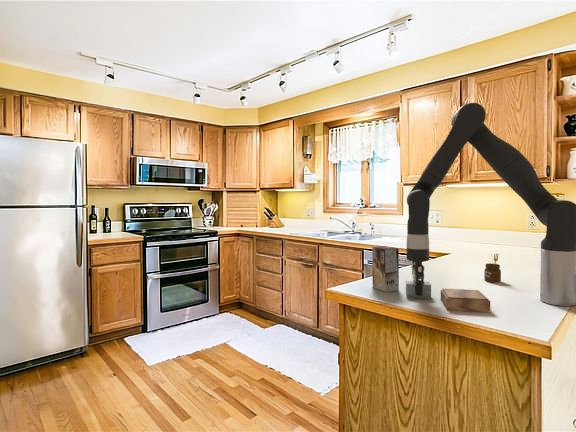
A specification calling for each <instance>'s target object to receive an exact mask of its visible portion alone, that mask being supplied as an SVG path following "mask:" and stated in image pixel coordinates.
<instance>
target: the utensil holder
mask: <svg viewBox="0 0 576 432" xmlns="http://www.w3.org/2000/svg"><path fill="white" fill-rule="evenodd" d="M490 255H491V256H493V258H492V259H491V261H492V263H491V261H490V259H488V263H485V265H484V266H485V268H484V278H483V279H484V281H485V282H487V283H494V284H499V283H500V282H501V281H502V271H501V269H500V268H501V265H500V264H498V263H497V261H498V260H499V254H498V253H493V254H492V253H489V254H488V256H487V257H490Z"/></svg>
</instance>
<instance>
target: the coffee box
mask: <svg viewBox="0 0 576 432" xmlns="http://www.w3.org/2000/svg"><path fill="white" fill-rule="evenodd" d="M399 250H400V249H399V248H397V247H392V246H387V245H383V246H381V245H379V246H372V247H371V254H372V255H371V258H372V260H371V262H372V263H371V266H372V267H371V268H372V288H374V289H377V290H380V291H383V292H385V293H388V292H396V291H397V292H399V290H400V283H399V282H400V275H399V272H400V271H399V270H400V267H399V266H400V265H399V261H400V257H399V256H400V255H399Z"/></svg>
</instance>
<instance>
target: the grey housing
mask: <svg viewBox="0 0 576 432" xmlns="http://www.w3.org/2000/svg"><path fill="white" fill-rule="evenodd" d="M419 281H421V279H420V280H419ZM405 297H406V299H425V300H432V284H431V281H424V284H423V295H422V296H417V295H416V285H415V280H414V281H413V280H405Z"/></svg>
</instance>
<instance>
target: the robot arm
mask: <svg viewBox="0 0 576 432" xmlns="http://www.w3.org/2000/svg"><path fill="white" fill-rule="evenodd" d="M486 118H487V113H486V110H485V108H484V106H483V105H481V104H480V103H477V102H469V103H466V104H463V105H462V106H460V107H459V108H458V109H457V111H456V112H454V114H453V115H452V116H451V129H450V130H449V132H448V134H447V136H446V138H445V140H444V141H443V142H442V143H441V145H440V147H439V148H438V149H437V150H436V152H435V153H434V154H433V156H432V157H431V158H430V160H429V162H428V163H427V165H426V166H425V168H424V169H423V172H422V173H421V174H420V177H419V178H418V180H417V182H416V183H415V185H414V186H413V187H412V188H411V190H410V191H409V193H408V195H407V197H406V203H407V207H408V208H407V209H408V220H407V224H406V228H407V229H406V231H407V236H406V260H407V261H410V262H411V263H412V264H411V267H410V268H411V276H412V281H414V280H415V285H416V295H417V296H422V295H423V284H424V282H425V266H424V265H423V262H428V261H430V236H429V216H430V204H431V200H430V198H431V197H432V195H433V194H434V192H435V190H436V189H437V188H438V187H439V186H440V185H441V183H442V182H443V180H444V179H445V177H446V176H447V174H448V172H449V171H450V169H451V168H452V166H453V164H454V162H455V160H456V159H457V157H458V156H459V154H460V153H461V151H462V149H463V148H464V147H465V145H466V144H470V145H471V146H472V147H473V148H474V149H475V150H476V151H477V152H478V154H479V155H480V156H481V158H483V159H484V161H485V162H486V163H487V164H488V166H490V167H491V168H492V169H493V171H494V173H496V174H497V175H498V176H499V178H501V180H502V181H503V182H505V184H507V185H508V187H510V188H511V190H513V191H514V192H515V193H516V194H517V195H518V196H519V197H520V198H521V199H522V200H523V202H525V204H526V205H527V206H528V207H529V209H530V210H531V212H532V213H533V214H534V216H535V217H536V218H537V220H538V221H539V222H540V223H541V224H542V225H543V226H545V227H546V229H545V230H546V233H545V237H544V238H543V239H542V240H541V242H540V283H539V284H540V287H539V288H540V290H539V300H540V301H541V302H542V303H546V304H550V305H555V306H562V307H571V306H572V307H574V306H576V203H575V202H573V201H571V200H565V199H558V198H556V197H555V196H554V195H553V194H552V193H550V192H549V191H548V189H546V188H545V187H544V185H543V184H542V182H541V180H540V179H539V176H538V174H537V171H536V170H535V168H534V166H533V165H532V164H531V162H530V161H529V159H527V157H526V156H524V155H523V153H522V152H521V151H520V150H518V149H517V147H514V146H513V145H511V144H510V143H508V142H507V141H505V140H503V139H502V138H500V137H498V136H497V135H496V134H494V133H493V132H492V131H491V130H490V129H489V127H488V126H487V125H486V124H485V120H486ZM467 142H468V143H467ZM419 280H421V281H419Z"/></svg>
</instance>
